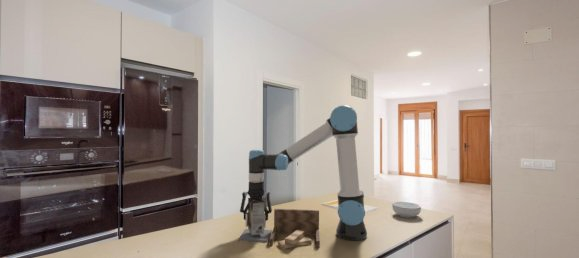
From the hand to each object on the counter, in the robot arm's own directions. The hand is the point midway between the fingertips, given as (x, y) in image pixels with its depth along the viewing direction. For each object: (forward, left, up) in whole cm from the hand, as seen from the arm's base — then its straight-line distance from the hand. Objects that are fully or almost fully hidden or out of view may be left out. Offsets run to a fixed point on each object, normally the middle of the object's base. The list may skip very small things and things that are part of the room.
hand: (255, 226), depth 143 cm
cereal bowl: (-87, -45, -5) cm, 98 cm away
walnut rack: (-20, +2, -5) cm, 21 cm away
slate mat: (0, 0, -5) cm, 5 cm away
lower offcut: (-20, +8, -6) cm, 22 cm away
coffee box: (0, 0, -3) cm, 3 cm away
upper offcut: (-20, +8, -3) cm, 22 cm away
